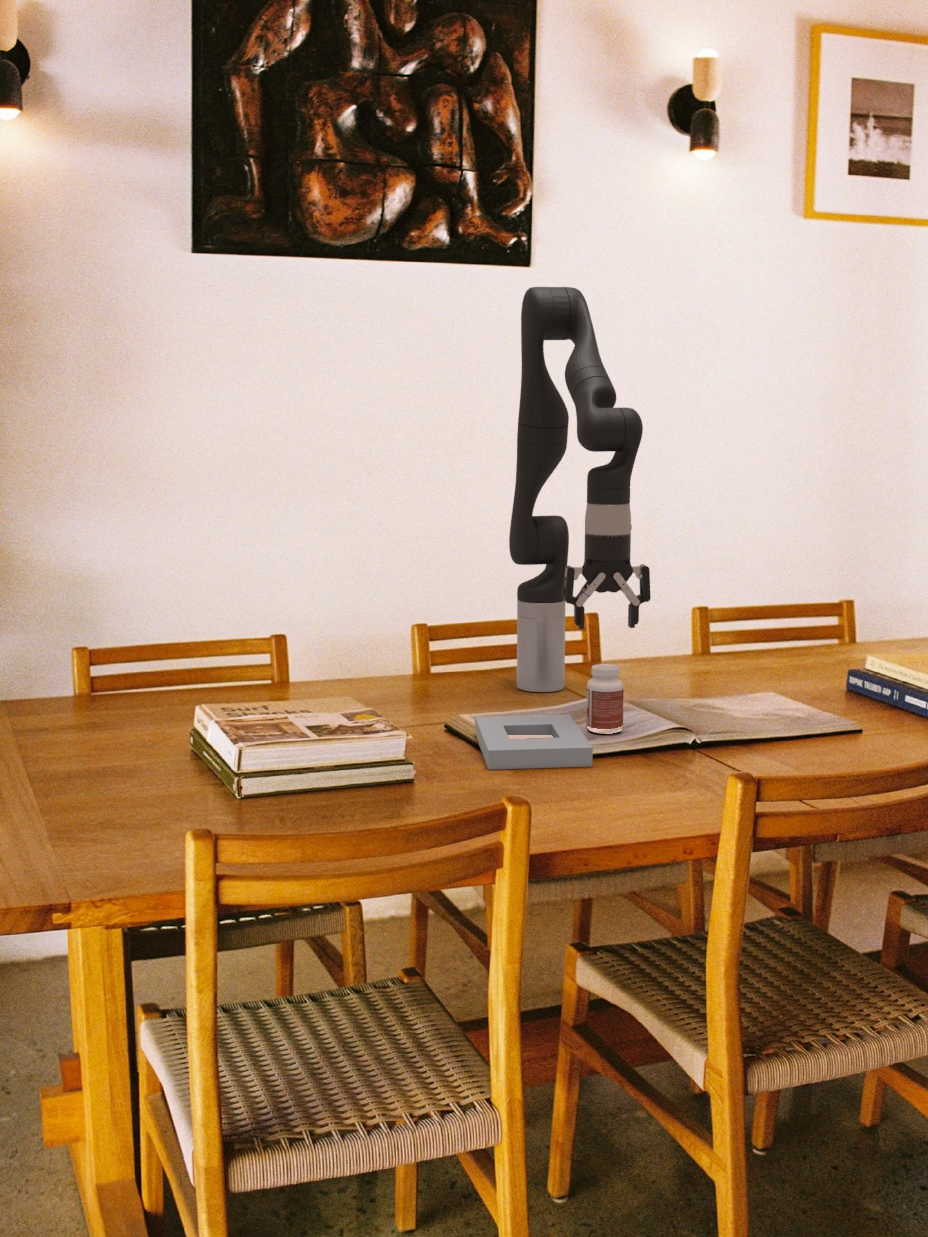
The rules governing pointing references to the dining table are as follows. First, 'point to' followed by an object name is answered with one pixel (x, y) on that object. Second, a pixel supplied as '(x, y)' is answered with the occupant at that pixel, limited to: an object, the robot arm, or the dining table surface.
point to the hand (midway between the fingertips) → (606, 627)
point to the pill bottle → (605, 697)
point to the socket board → (532, 742)
